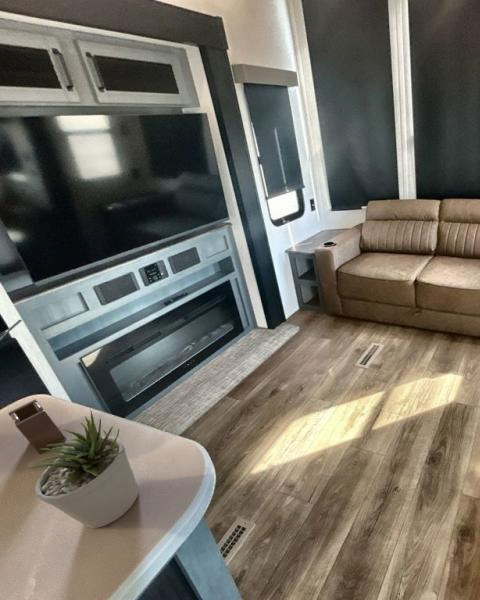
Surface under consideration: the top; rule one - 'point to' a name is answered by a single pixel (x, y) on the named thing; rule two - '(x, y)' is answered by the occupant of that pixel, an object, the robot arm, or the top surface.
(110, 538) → the top surface
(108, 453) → the potted plant
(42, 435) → the brown open box
